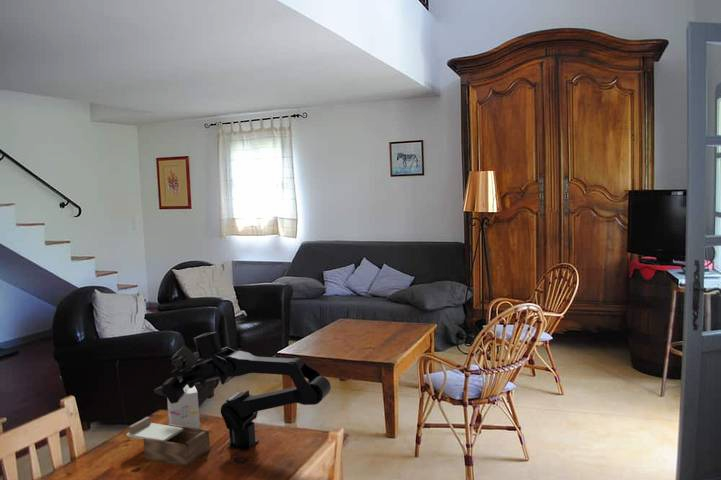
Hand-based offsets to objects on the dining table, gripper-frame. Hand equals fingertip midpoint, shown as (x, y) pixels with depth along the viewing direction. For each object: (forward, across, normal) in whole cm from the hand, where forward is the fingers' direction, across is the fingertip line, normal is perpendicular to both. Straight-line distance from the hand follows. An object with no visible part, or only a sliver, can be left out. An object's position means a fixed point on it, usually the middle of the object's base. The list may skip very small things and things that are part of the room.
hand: (163, 382), depth 172 cm
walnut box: (-5, +14, +16) cm, 22 cm away
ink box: (+4, -3, +18) cm, 18 cm away
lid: (0, +12, +9) cm, 15 cm away
